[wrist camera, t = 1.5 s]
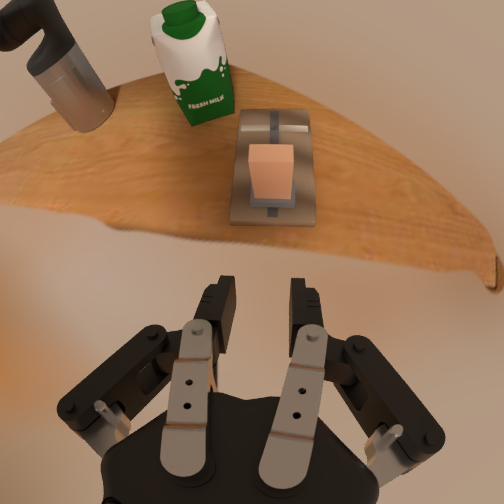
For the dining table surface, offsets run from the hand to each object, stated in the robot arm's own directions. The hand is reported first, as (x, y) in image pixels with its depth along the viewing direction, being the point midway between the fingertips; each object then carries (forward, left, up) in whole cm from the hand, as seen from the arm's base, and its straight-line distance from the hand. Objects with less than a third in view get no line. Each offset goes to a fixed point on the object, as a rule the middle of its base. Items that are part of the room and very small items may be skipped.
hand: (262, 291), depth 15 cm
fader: (0, +13, -14) cm, 19 cm away
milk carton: (-11, +31, -16) cm, 37 cm away
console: (0, +19, -16) cm, 25 cm away
